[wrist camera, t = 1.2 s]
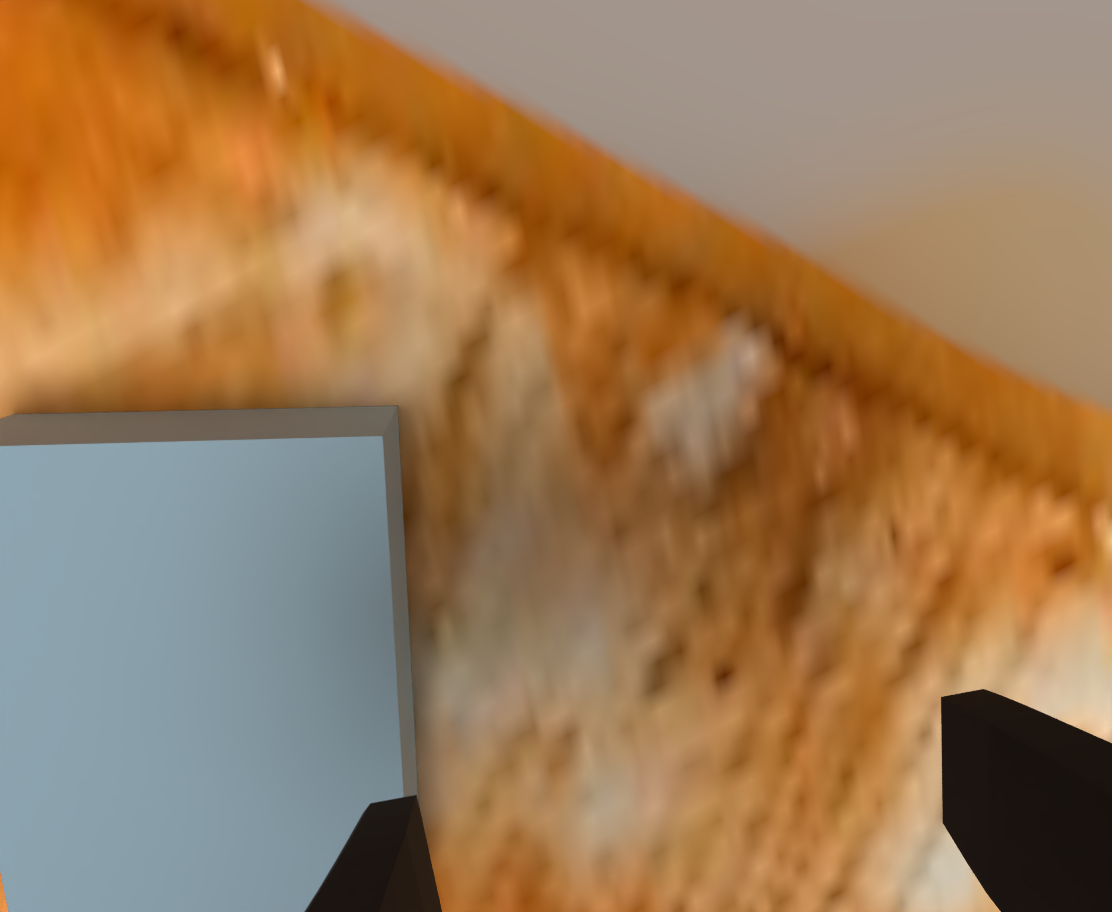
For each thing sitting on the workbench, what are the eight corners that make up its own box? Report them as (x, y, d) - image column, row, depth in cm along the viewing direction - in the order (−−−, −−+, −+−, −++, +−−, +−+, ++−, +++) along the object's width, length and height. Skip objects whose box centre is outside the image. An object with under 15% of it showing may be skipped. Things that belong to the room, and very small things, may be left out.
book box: (422, 853, 21) (413, 967, 17) (102, 878, 20) (27, 1005, 17) (398, 402, 18) (382, 436, 14) (23, 411, 17) (-87, 448, 14)
